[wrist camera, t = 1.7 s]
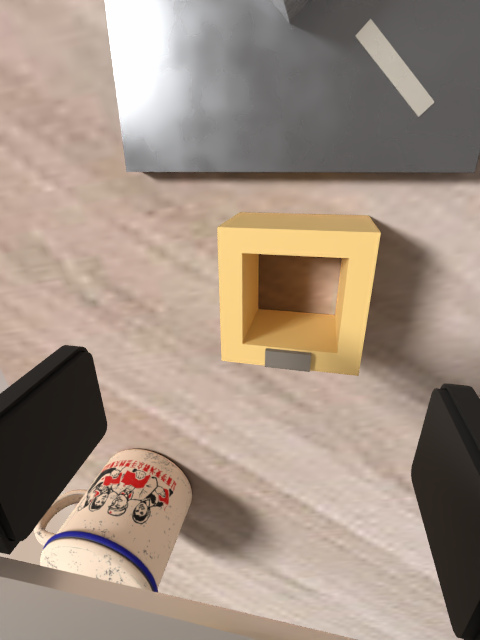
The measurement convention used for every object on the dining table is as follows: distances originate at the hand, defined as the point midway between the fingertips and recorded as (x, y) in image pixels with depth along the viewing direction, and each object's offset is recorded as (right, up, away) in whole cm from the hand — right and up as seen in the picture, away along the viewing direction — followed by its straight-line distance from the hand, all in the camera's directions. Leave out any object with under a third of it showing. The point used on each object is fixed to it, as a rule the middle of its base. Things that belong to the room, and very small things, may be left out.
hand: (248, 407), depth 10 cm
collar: (+3, +5, +12) cm, 14 cm away
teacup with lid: (-10, -13, +24) cm, 29 cm away
